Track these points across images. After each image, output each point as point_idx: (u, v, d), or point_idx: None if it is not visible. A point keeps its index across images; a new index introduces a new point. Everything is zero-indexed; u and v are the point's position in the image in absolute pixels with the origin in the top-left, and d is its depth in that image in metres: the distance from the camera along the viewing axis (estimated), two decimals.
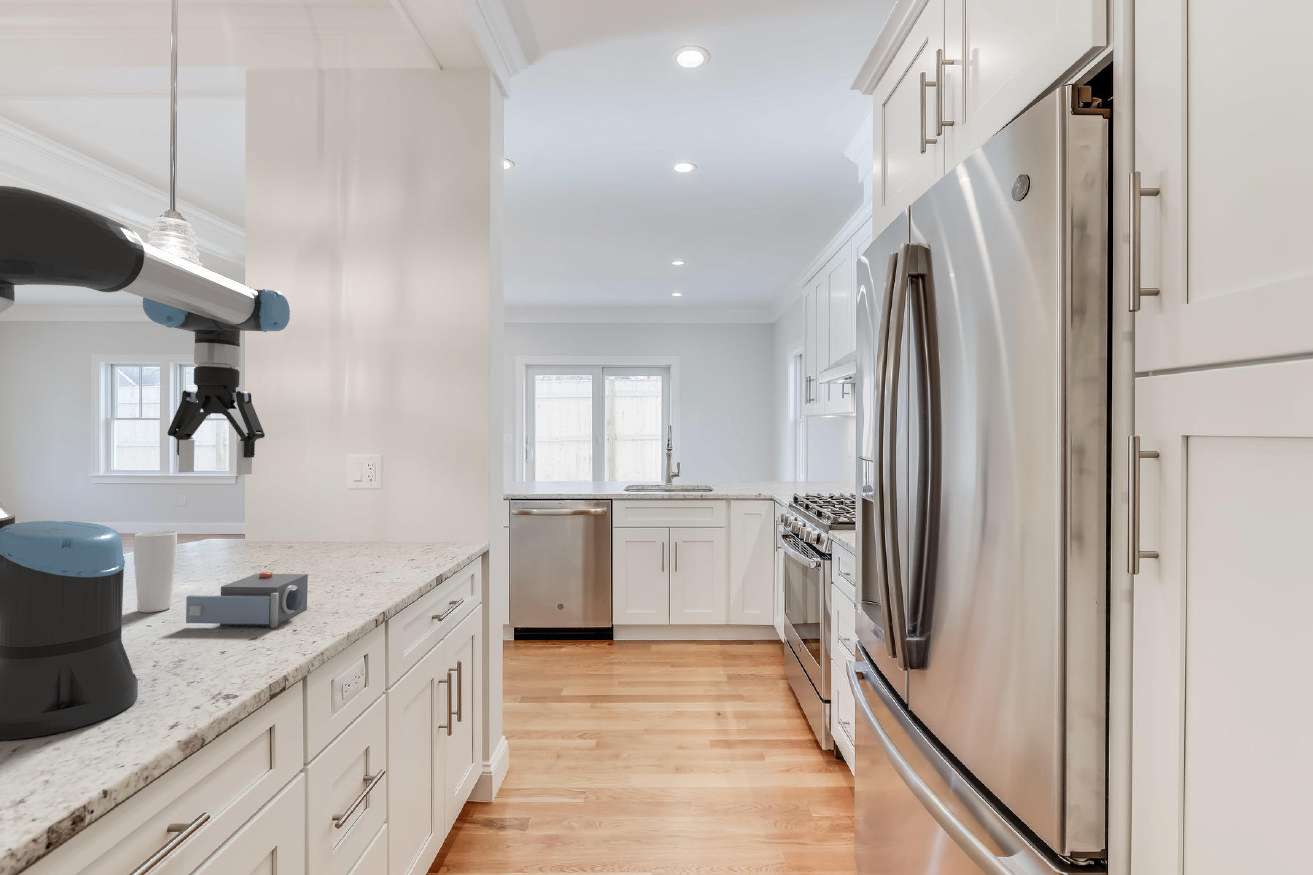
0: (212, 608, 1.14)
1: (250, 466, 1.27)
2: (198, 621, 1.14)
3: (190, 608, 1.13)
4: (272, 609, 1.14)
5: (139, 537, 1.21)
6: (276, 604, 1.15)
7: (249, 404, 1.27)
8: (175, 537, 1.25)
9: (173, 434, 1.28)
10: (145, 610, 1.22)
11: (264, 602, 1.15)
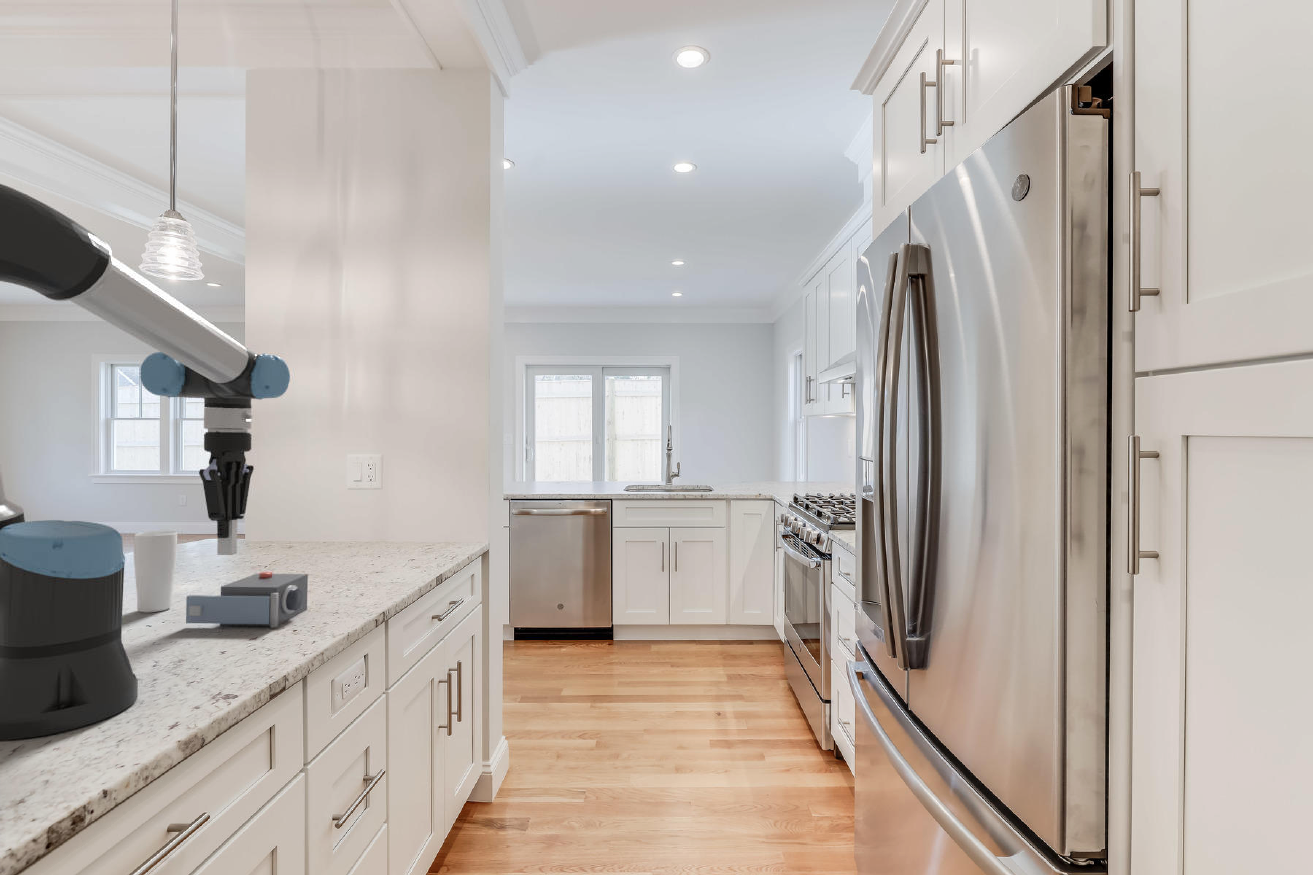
0: (212, 608, 1.14)
1: (230, 547, 1.21)
2: (198, 621, 1.14)
3: (190, 608, 1.13)
4: (272, 609, 1.14)
5: (139, 537, 1.21)
6: (276, 604, 1.15)
7: (212, 483, 1.17)
8: (175, 537, 1.25)
9: None
10: (145, 610, 1.22)
11: (264, 602, 1.15)
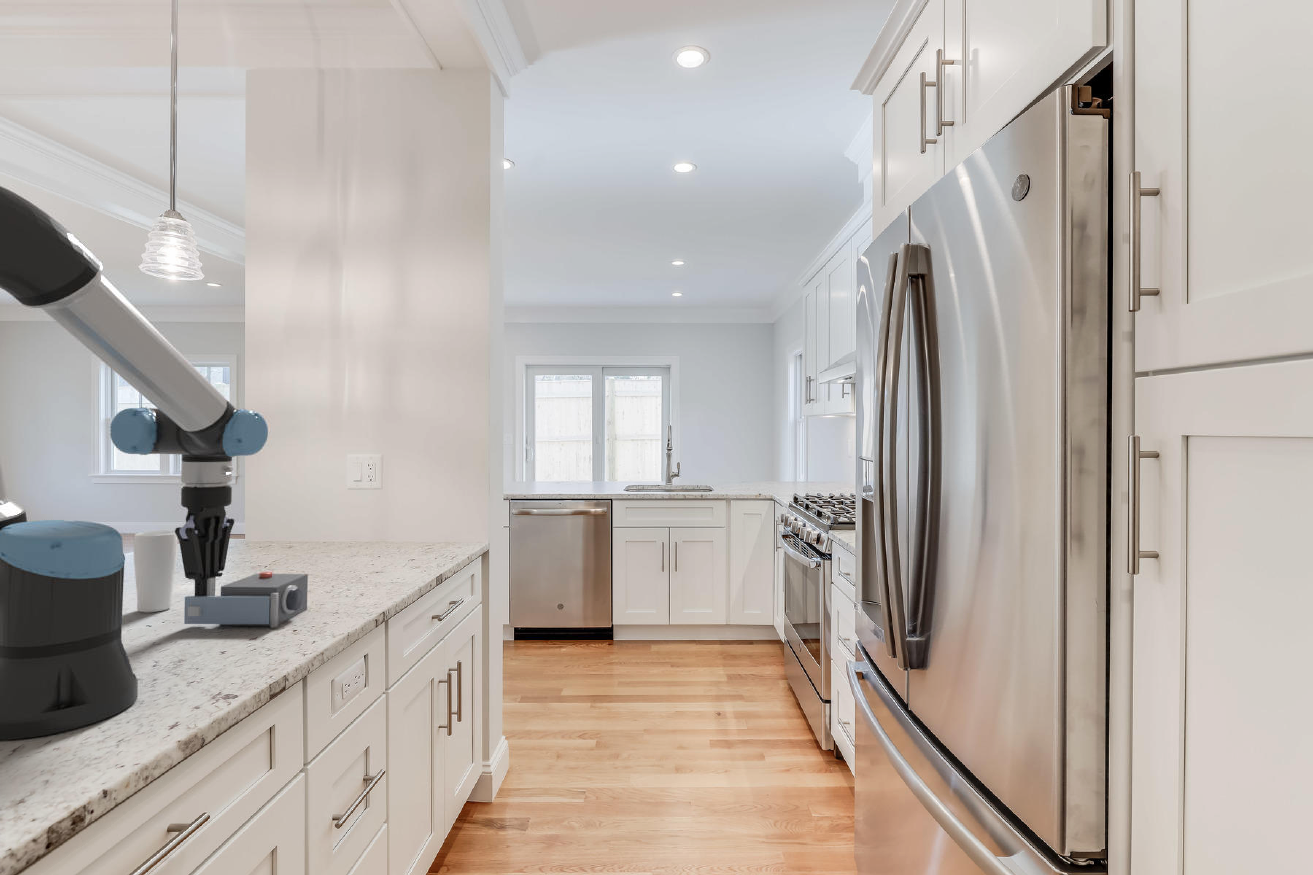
0: (210, 609, 1.14)
1: None
2: (196, 622, 1.14)
3: (189, 609, 1.13)
4: (272, 609, 1.14)
5: (139, 537, 1.21)
6: (276, 604, 1.15)
7: (189, 542, 1.11)
8: (175, 537, 1.25)
9: None
10: (145, 610, 1.22)
11: (264, 602, 1.14)
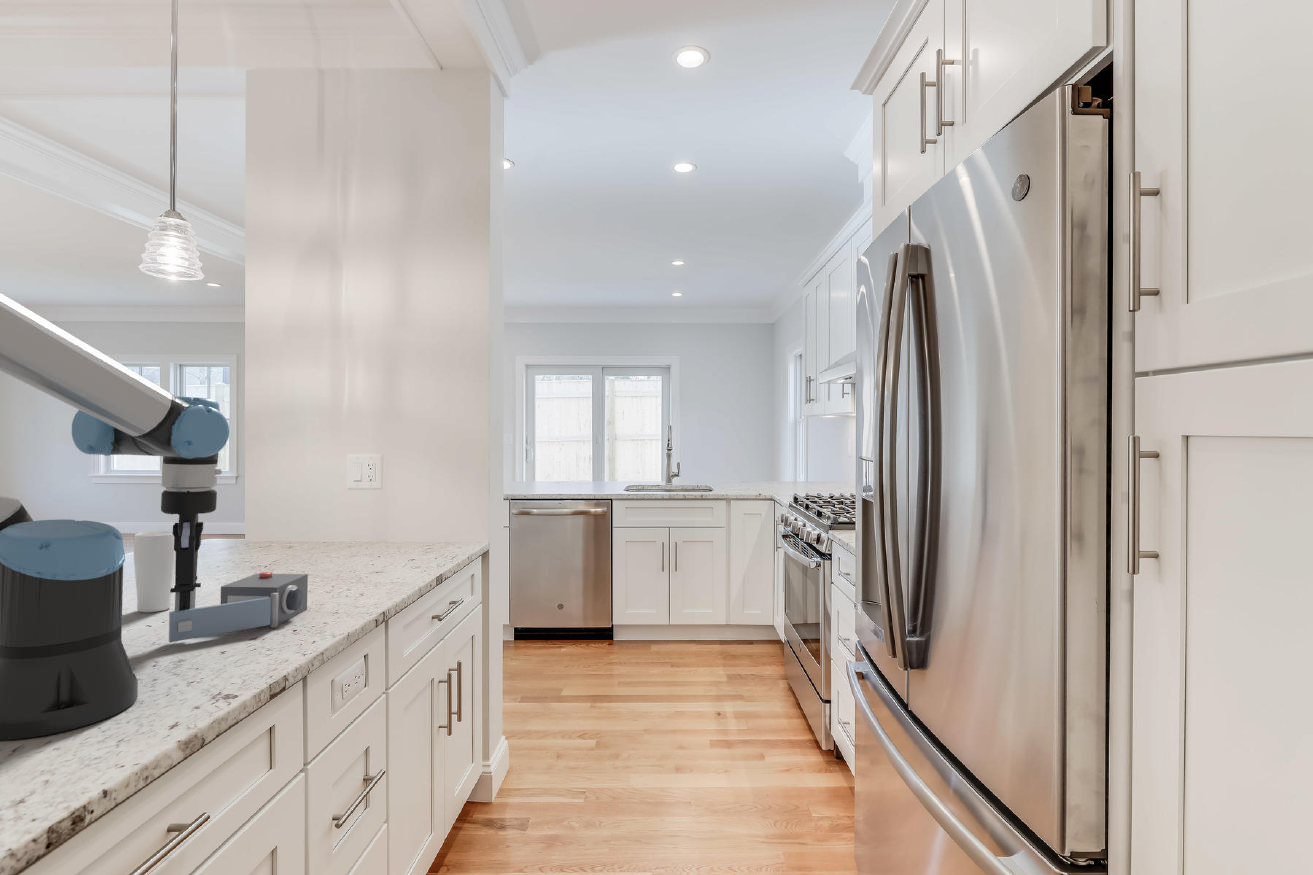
0: (203, 620, 1.07)
1: None
2: (185, 637, 1.05)
3: (180, 624, 1.04)
4: (275, 609, 1.15)
5: (139, 537, 1.21)
6: None
7: (188, 551, 1.03)
8: None
9: None
10: (145, 610, 1.22)
11: (265, 603, 1.14)
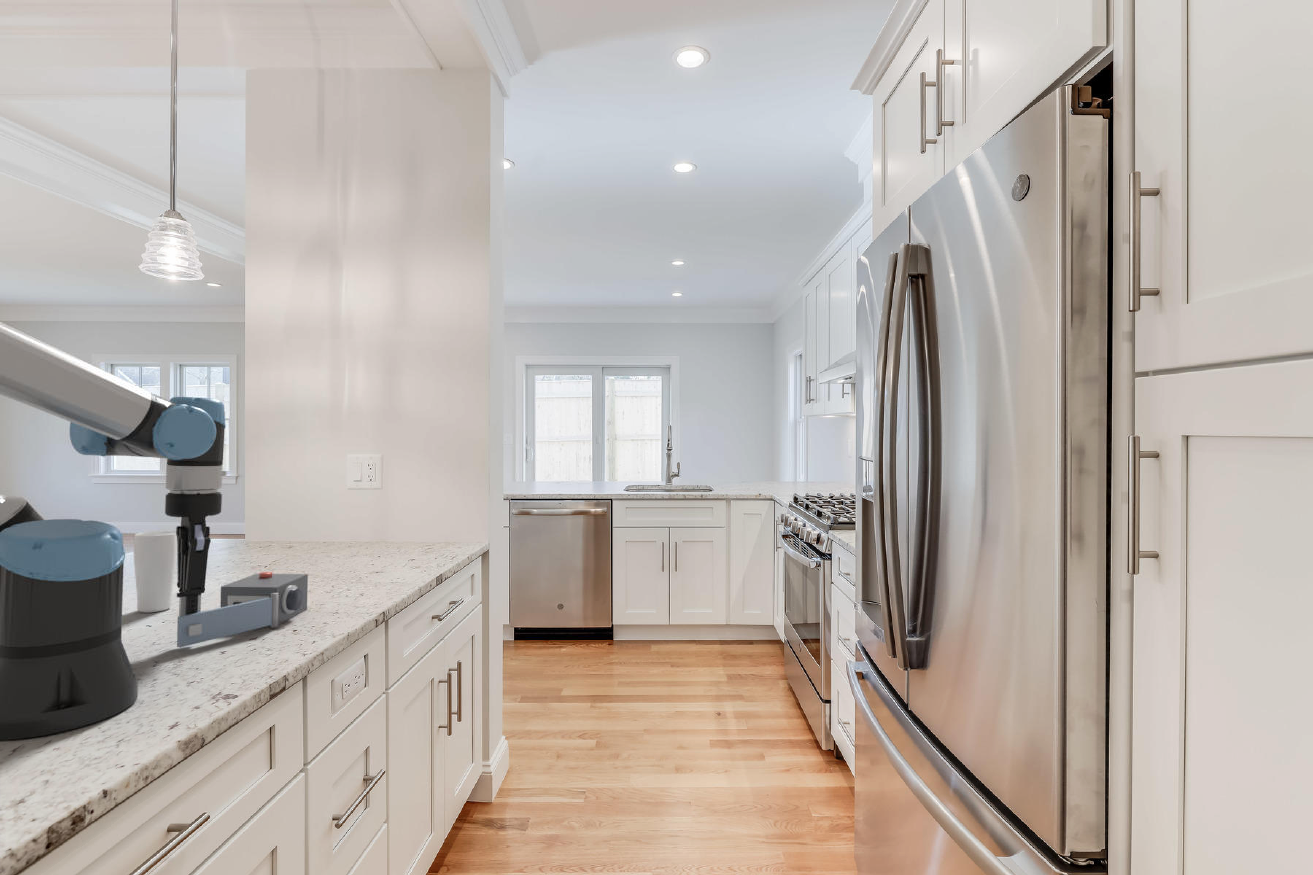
0: (210, 623, 1.05)
1: None
2: (194, 641, 1.03)
3: (190, 628, 1.02)
4: (276, 609, 1.15)
5: (139, 537, 1.21)
6: None
7: (202, 554, 1.02)
8: (175, 537, 1.25)
9: None
10: (145, 610, 1.22)
11: (267, 604, 1.13)
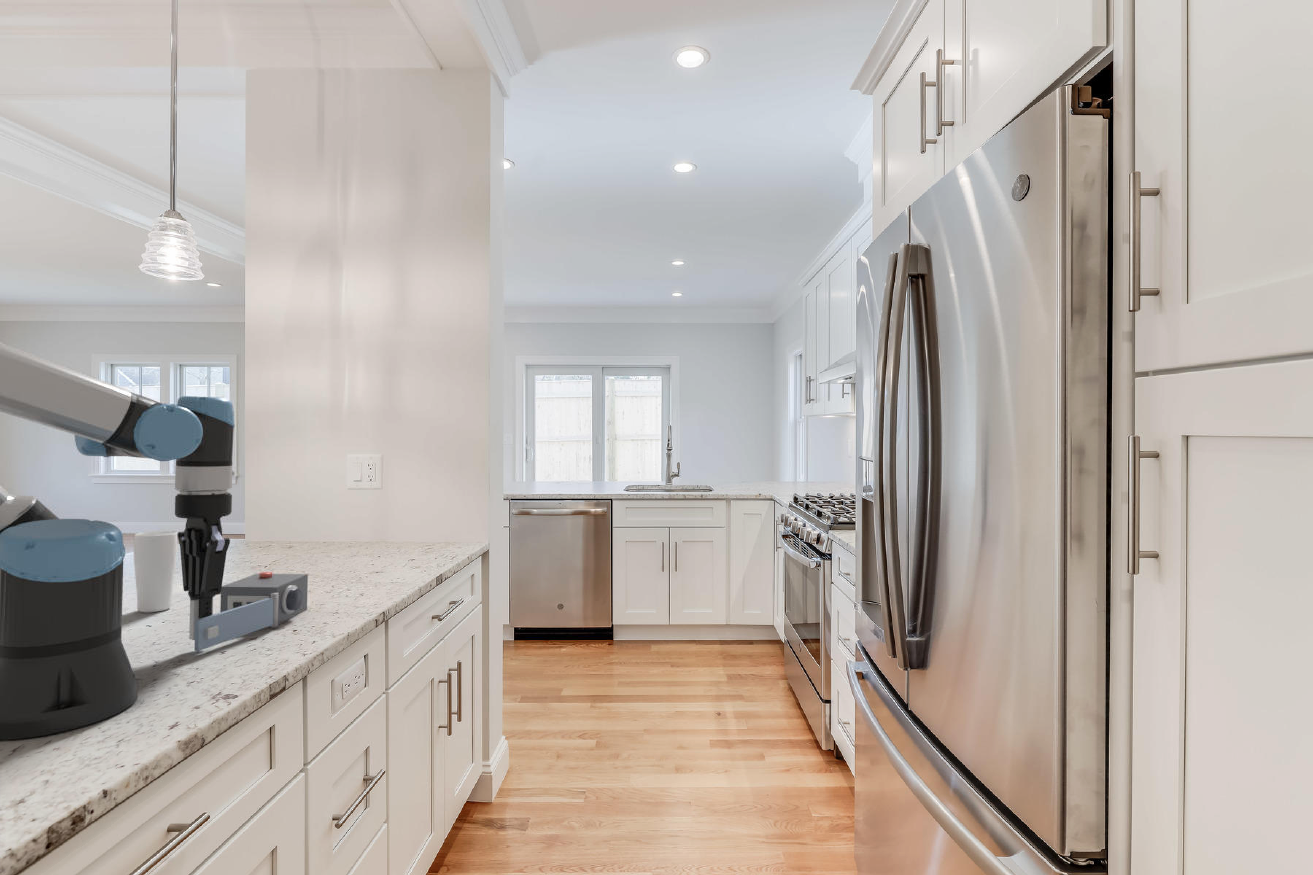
0: (224, 625, 1.04)
1: None
2: (210, 644, 1.02)
3: (209, 631, 1.01)
4: (276, 608, 1.15)
5: (139, 537, 1.21)
6: None
7: (221, 554, 1.01)
8: (175, 537, 1.25)
9: (188, 589, 1.04)
10: (145, 610, 1.22)
11: (269, 604, 1.13)
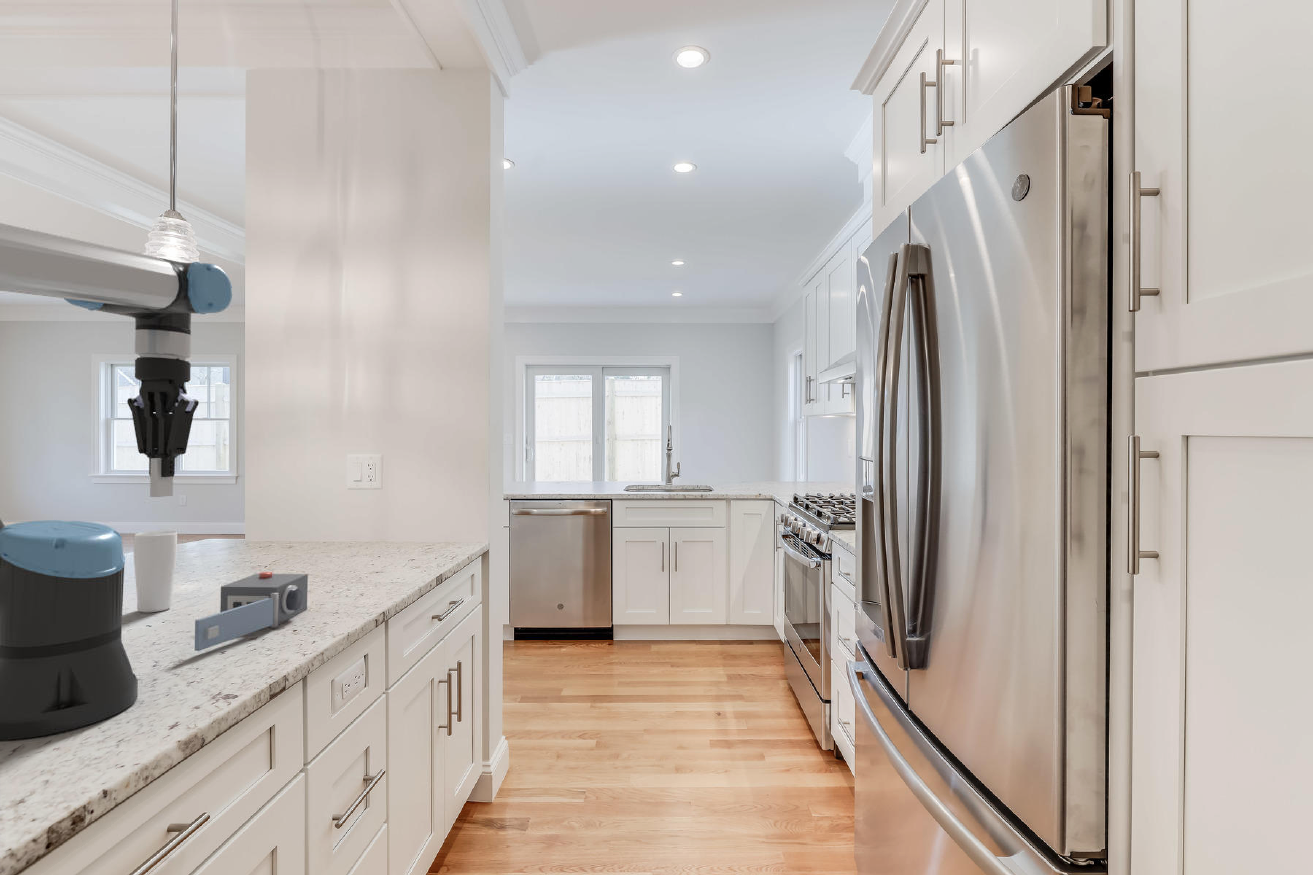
0: (224, 625, 1.04)
1: (171, 487, 1.10)
2: (211, 644, 1.02)
3: (209, 631, 1.01)
4: (276, 608, 1.15)
5: (139, 537, 1.21)
6: None
7: (189, 415, 1.08)
8: (175, 537, 1.25)
9: (144, 451, 1.09)
10: (145, 610, 1.22)
11: (269, 604, 1.13)
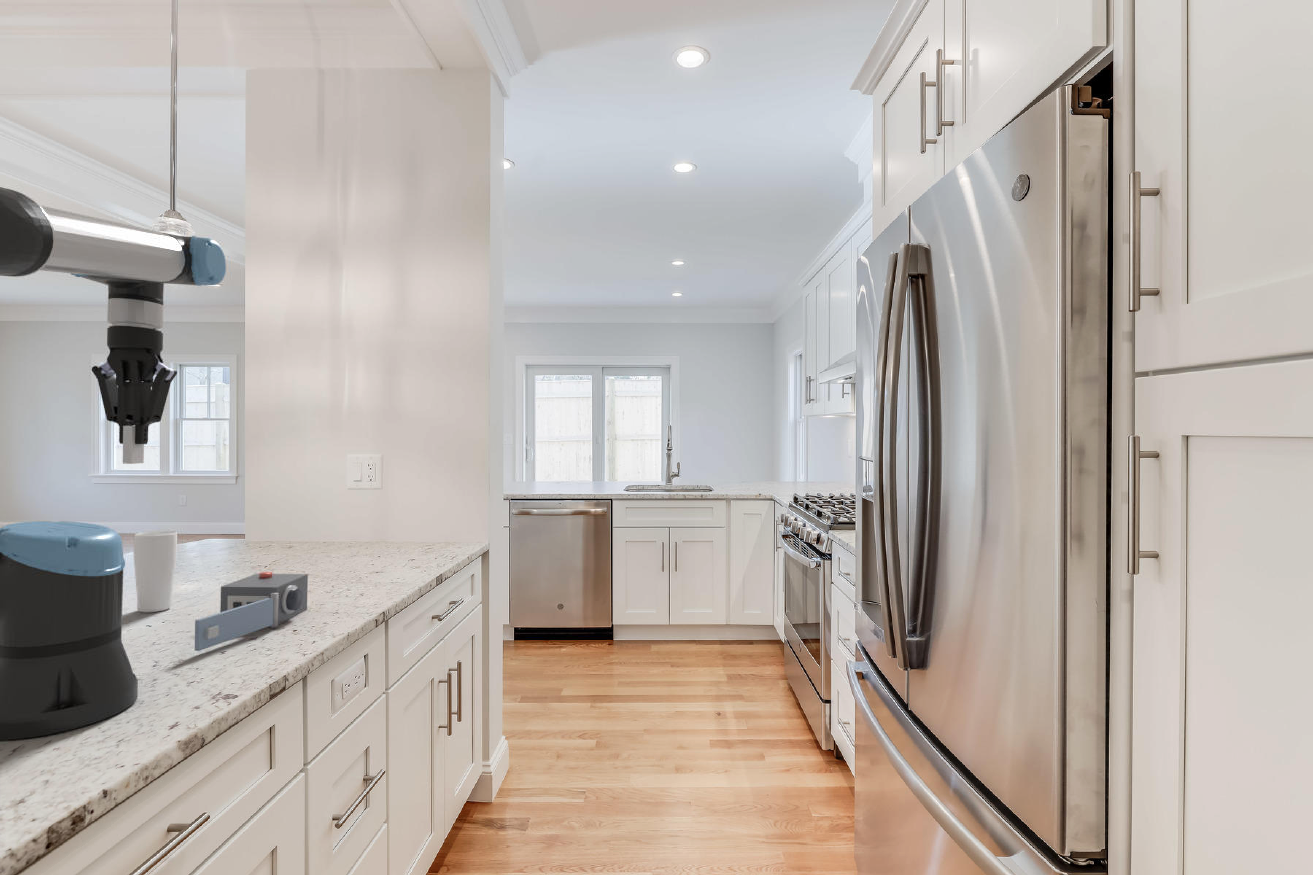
0: (224, 625, 1.04)
1: (142, 454, 1.12)
2: (211, 644, 1.02)
3: (209, 631, 1.01)
4: (276, 608, 1.15)
5: (139, 537, 1.21)
6: None
7: (167, 384, 1.12)
8: (175, 537, 1.25)
9: (114, 419, 1.10)
10: (145, 610, 1.22)
11: (269, 604, 1.13)
